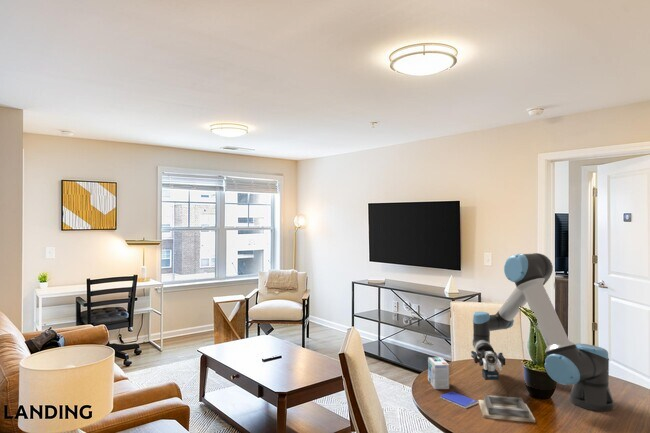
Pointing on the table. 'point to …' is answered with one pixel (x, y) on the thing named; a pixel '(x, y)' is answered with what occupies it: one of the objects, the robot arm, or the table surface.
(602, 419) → the table surface
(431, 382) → the light bulb box
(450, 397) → the hard drive
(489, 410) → the fitting base
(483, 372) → the watch
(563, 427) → the table surface
